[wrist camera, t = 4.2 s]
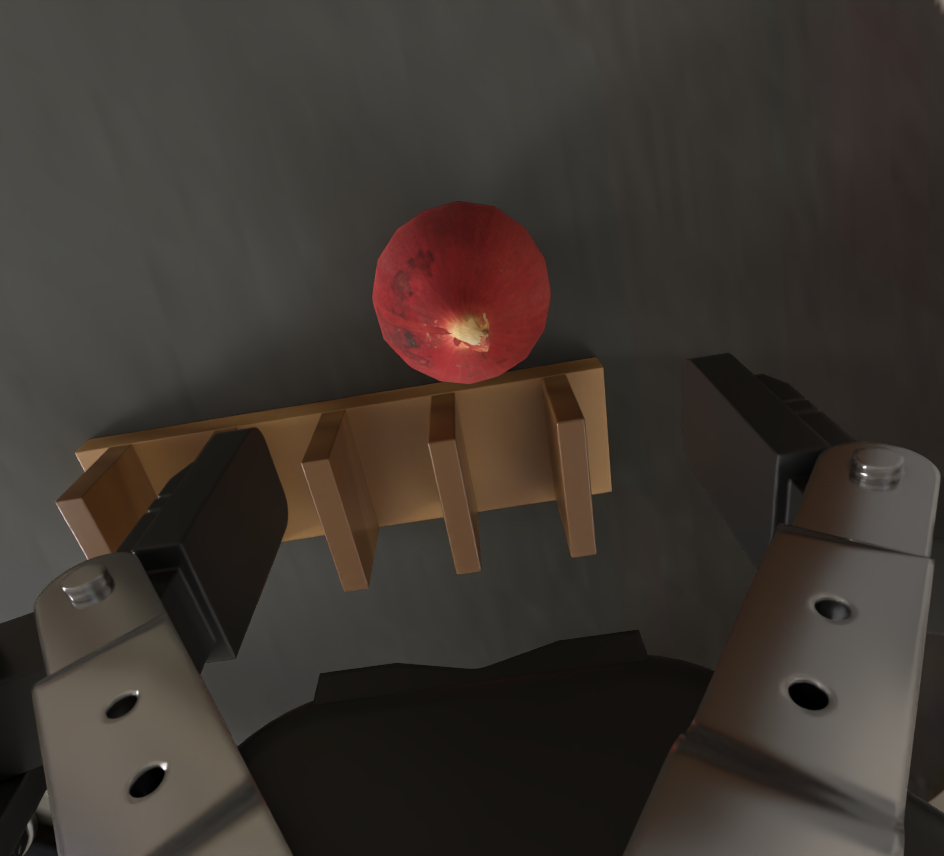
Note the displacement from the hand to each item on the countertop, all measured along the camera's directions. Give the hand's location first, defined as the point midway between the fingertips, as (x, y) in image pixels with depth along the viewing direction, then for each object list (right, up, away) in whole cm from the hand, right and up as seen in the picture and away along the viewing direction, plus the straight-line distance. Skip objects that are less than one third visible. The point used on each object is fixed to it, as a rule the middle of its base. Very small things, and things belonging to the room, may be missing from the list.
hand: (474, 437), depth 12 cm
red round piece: (-1, +6, +12) cm, 14 cm away
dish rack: (-5, -1, +16) cm, 17 cm away
